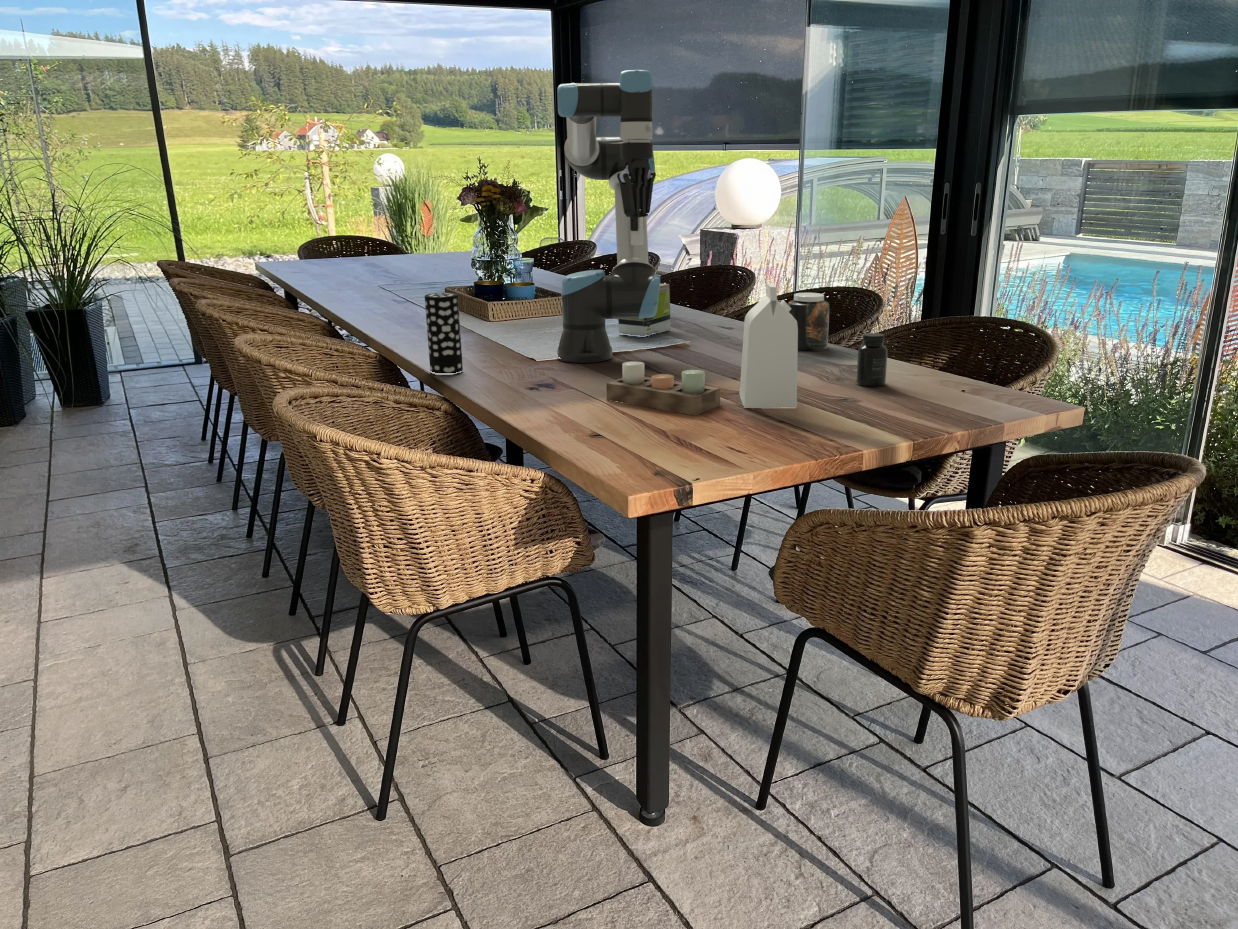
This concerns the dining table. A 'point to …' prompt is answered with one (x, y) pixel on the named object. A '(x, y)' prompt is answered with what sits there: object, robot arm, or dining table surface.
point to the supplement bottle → (872, 360)
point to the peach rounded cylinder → (662, 381)
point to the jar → (811, 320)
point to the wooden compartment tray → (663, 397)
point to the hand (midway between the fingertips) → (637, 244)
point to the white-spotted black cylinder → (443, 332)
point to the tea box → (650, 324)
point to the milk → (769, 354)
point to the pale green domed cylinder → (693, 381)
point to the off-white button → (633, 373)
